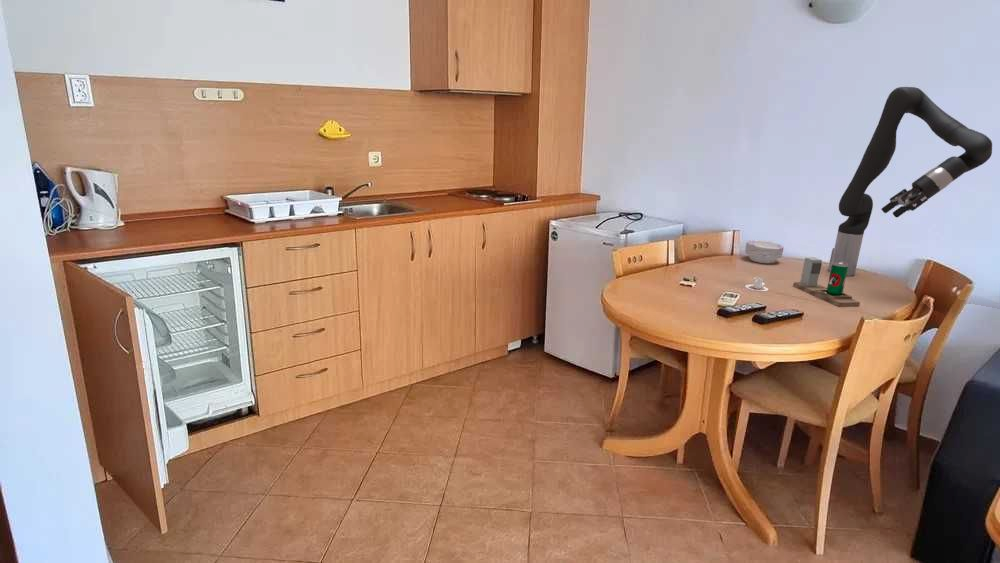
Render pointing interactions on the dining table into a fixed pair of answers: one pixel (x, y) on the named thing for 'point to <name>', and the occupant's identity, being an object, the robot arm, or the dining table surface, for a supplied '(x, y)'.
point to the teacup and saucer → (757, 284)
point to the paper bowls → (763, 251)
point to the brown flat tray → (821, 293)
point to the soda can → (837, 278)
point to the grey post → (811, 271)
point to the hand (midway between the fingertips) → (888, 213)
